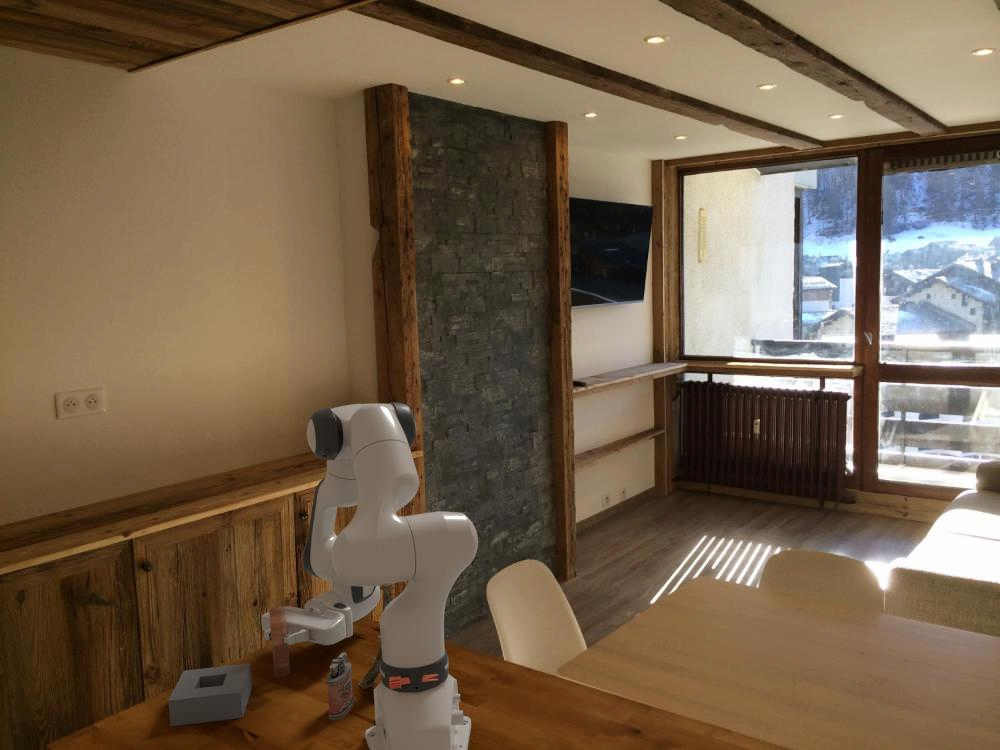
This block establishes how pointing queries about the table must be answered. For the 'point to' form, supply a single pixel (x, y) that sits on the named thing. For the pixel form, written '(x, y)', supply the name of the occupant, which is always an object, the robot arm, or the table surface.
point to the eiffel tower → (375, 668)
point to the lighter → (339, 688)
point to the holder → (210, 694)
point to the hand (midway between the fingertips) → (276, 638)
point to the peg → (279, 642)
